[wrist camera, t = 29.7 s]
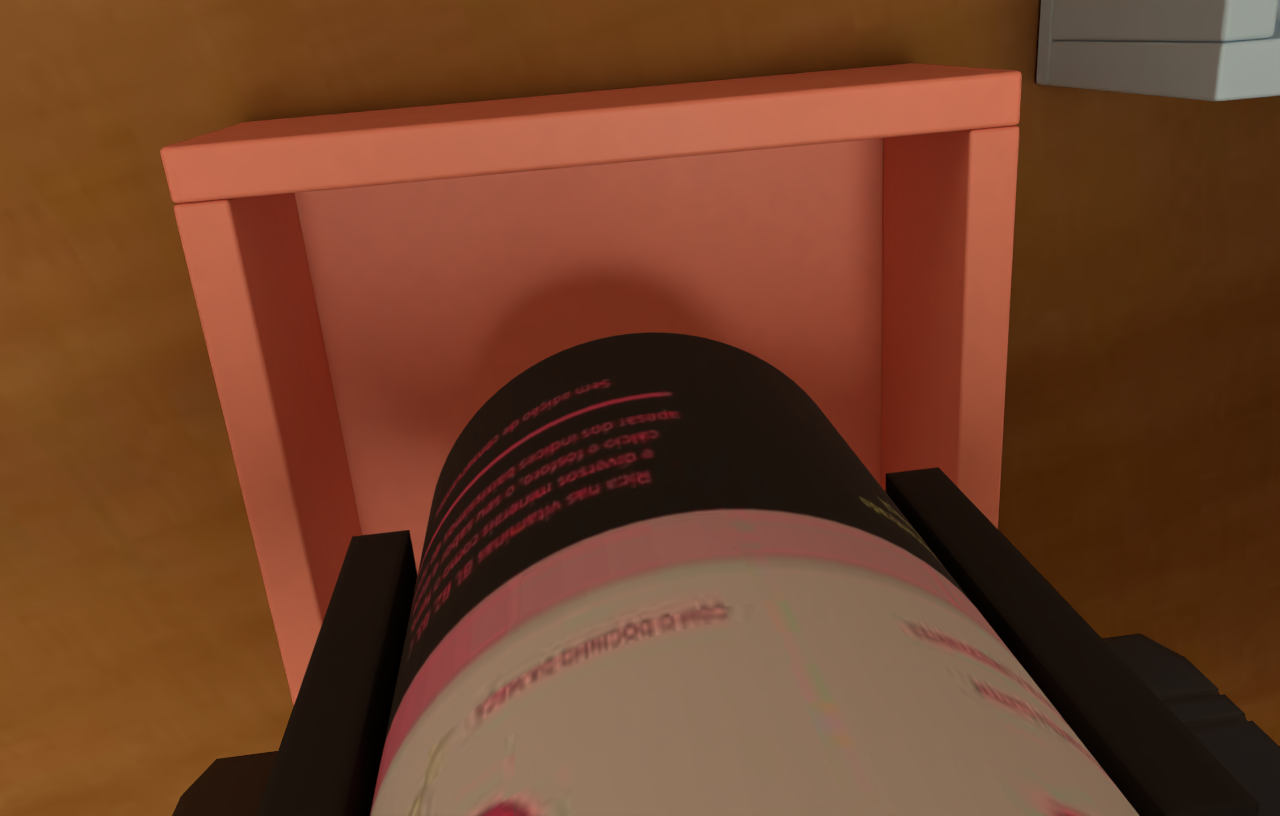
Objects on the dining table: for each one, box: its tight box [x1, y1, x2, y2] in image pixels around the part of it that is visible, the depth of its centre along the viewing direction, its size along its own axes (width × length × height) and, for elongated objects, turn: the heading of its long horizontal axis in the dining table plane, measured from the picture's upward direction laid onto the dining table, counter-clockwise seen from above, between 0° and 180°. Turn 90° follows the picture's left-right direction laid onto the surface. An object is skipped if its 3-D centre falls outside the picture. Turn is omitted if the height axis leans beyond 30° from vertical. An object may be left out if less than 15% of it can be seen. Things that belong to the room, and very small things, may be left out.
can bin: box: [161, 63, 1022, 705], centre depth 19 cm, size 13×13×4 cm
